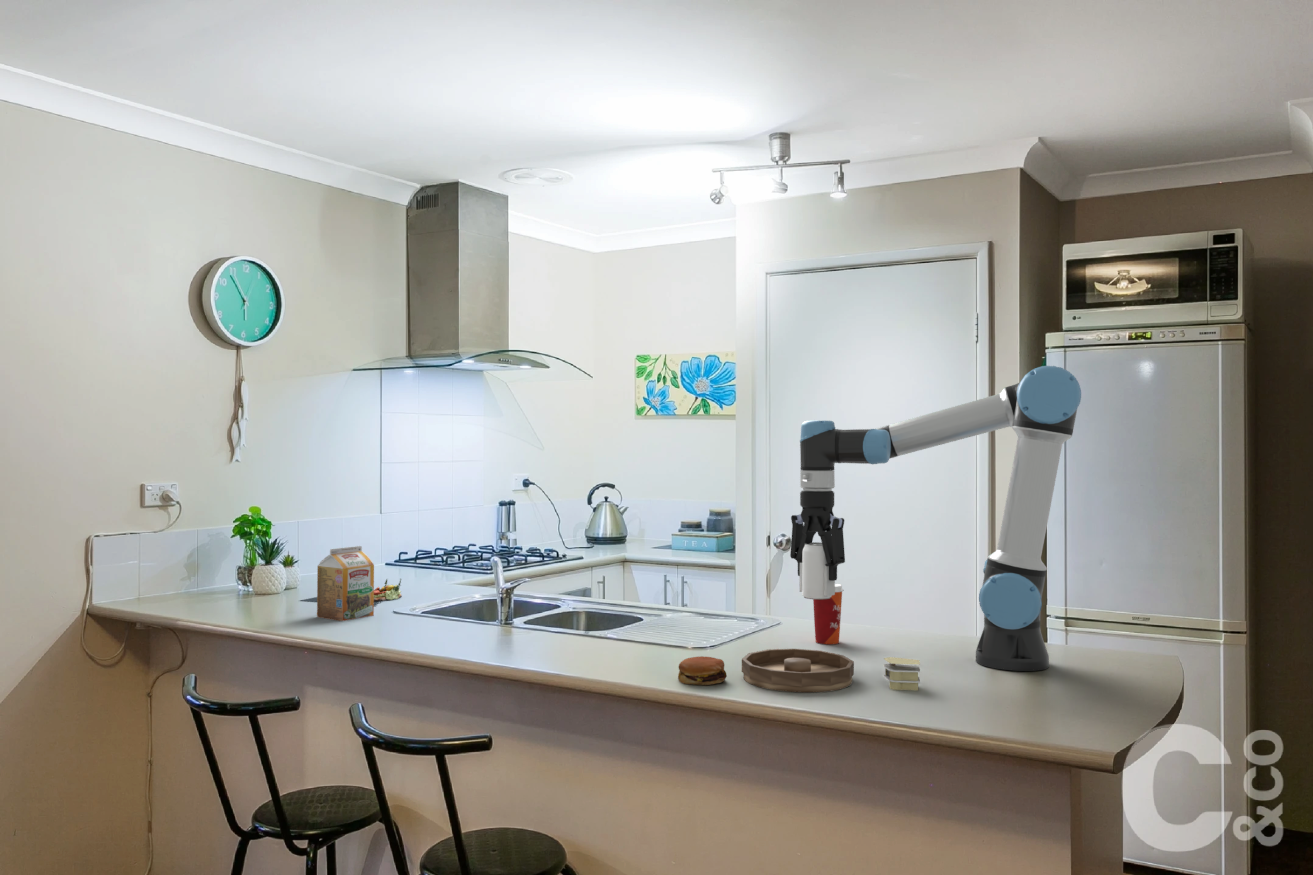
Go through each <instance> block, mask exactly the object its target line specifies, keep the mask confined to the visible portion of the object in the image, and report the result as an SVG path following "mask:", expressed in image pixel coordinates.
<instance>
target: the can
mask: <svg viewBox="0 0 1313 875" xmlns="http://www.w3.org/2000/svg"><path fill="white" fill-rule="evenodd" d="M804 544H805V546H804V548H803V551H802V592H801V594H802V595H801V596H802V597H803V598H804V599H808V600H813V599H815V600H823V599H830V597H831V596H832V595H831V596H824V566H826V565H825V564H827V561H826V557H825V553H824V549H823V545H822V542H820V541H819V542H818V541H817V542H813V541H812V542H811V543H810V544H806V543H804Z"/></svg>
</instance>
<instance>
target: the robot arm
mask: <svg viewBox="0 0 1313 875" xmlns="http://www.w3.org/2000/svg"><path fill="white" fill-rule="evenodd" d="M1081 400H1082V390H1081V385H1080V383H1079V380H1077V378H1076V376H1075V375H1073V374H1072V373H1071V372H1070V371H1069V370H1067V369H1065V368H1064V367H1060V366H1055V365H1042V366H1038V367H1036V368H1033V369H1031V370H1030V371H1028V372H1027V373H1026V374H1024V375H1023V377H1022V378H1021V380H1020V382H1017V383H1016V384H1013V385H1009V386H1005V387H1004V388H1003V389H1002V390H1001V392H999V393H997V394H994V395H989V396H987V397H983V398H979V399H976V400H973V401H972V400H971V401H969V402H966V403H963V404H962V403H961V404H958V405H955V406H951V407H947V408H945V409H940V410H937V411H934V412H933V411H932V412H930V413H927V414H923V415H920V416H916V417H912V418H908V419H906V420H902V421H898V422H895V423H890V424H888V425H884V426H880V427H876V428H865V429H863V428H862V429H861V428H859V429H854V428H853V429H839V428H836V426H835V422H834V421H832V420H805V421H803V422H802V423H801V428H800V439H799V443H800V444H799V446H800V447H799V448H800V449H799V451H800V454H799V455H800V477H799V478H800V479H799V480H800V482H799V483H800V484H799V485H800V488H802V490H801V491H800V492H799V494H800V495H799V496H800V498H799V505H800V507H802V509H801V512H800V514H794V515H793V514H792V515H791V516H790V520H791V525H792V528H791V542H790V555H789V556H790V558H791V559H794V560H796V562H797V576H798V577H799V592H800V593H802V551H803V548H804V546H805V544H804V543H806V544H810V543H811V542H813V540H814V538H815V537H814V536H815V535H816V534H818V536H819V537H820V541H821V542H820V543H822V545H823V549H824V553H825V557H826V561H827V564H825V565H826V566H824V596H831V595H835V583H836V581H837V579H838V566H839V565H841V564H844V563H846V556H845V542H844V541H845V540H844V525H845V518H843V517H836V516H835V514H834V511H833V508H834V507H835V491H833V489H835V487H836V486H835V481H836V480H835V464H863V465H864V464H865V465H867V464H869V465H878V464H886V463H888V462H889V461H890V459H894V458H897V457H899V456H900V457H901V456H903V455H908V454H912V453H915V452H919V451H922V450H926V449H930V448H933V447H937V446H942V445H945V444H949V443H953V442H956V441H960V440H964V439H967V438H973V437H975V436H980V435H982V434H987V433H990V432H995V431H997V430H998V431H999V430H1001V429H1005V428H1009V427H1010V428H1012V430H1013V431H1014V432H1015V434H1016V435H1017V441H1016V446H1015V451H1014V452H1015V453H1014V457H1013V462H1012V467H1011V472H1010V477H1009V478H1010V479H1009V484H1008V490H1007V495H1006V500H1005V506H1004V510H1003V516H1002V520H1001V521H1002V522H1001V526H1000V532H999V538H998V543H997V548H996V550H995V551H993V552H992V553H991V554H989V555H988V556H987V559H985V561H984V564H983V565H984V567H983V569H982V570H983V571H982V572H983V574H984V575H983V581H982V584H981V585H982V586H981V587H980V591H979V593H978V602H979V607H980V608H981V612H982V613H983V620H984V621H983V622H984V623H983V629H982V632H981V634H980V638H979V640H978V644H977V647H976V650H975V662H976V663H977V664H979V665H981V666H984V667H988V668H991V669H996V670H997V669H998V670H1004V671H1012V672H1013V671H1016V672H1035V671H1036V672H1037V671H1042V670H1046V669H1048V668H1049V667H1050V655H1049V653H1048V650H1047V647H1046V643H1045V641H1044V638H1043V635H1042V631H1041V611H1042V606H1043V605H1042V604H1043V603H1042V602H1043V601H1042V597H1043V592H1044V587H1045V581H1046V576H1047V572H1048V571H1047V570H1048V568H1047V566H1046V565H1045V563H1044V562H1043V561H1042V553H1043V549H1044V543H1045V538H1046V533H1047V528H1048V522H1049V516H1050V512H1051V508H1052V501H1053V495H1054V491H1055V485H1056V479H1057V474H1058V470H1059V463H1060V460H1061V458H1060V457H1061V453H1062V447H1063V444H1064V443H1065V442H1067V441H1068V440H1069V439H1071V438H1073V433H1074V427H1075V422H1076V417H1077V411H1078V408H1079V407H1080V404H1081Z"/></svg>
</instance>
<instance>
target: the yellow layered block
mask: <svg viewBox="0 0 1313 875" xmlns="http://www.w3.org/2000/svg"><path fill="white" fill-rule="evenodd" d="M883 660H884V661H885V662H887V663H886V664H883V665H882V666H883V668H884V669H885V672H884V673H885V674H883V676H882V677H884V679H886V680H887V681H888V682H889V689H890V690H894V691H901V690H906V691H919V683H921V678H920V676H919V673H921V669H920V666H919V665H921V662H920V660H919V659H912V658H911V659H910V658H904V657H895V656H894V657H893V656H892V657H891V656H890V657H884V658H883ZM916 665H918V666H916Z"/></svg>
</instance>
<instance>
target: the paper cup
mask: <svg viewBox="0 0 1313 875" xmlns="http://www.w3.org/2000/svg"><path fill="white" fill-rule="evenodd" d="M843 592H844V589H843V585H842V584H840V583H836V582H835V595H832V596H831V597H830V599H823V600H815V599H812V600H813V601H812V602H813V620H814V638H815V642H816V643H817V644H820V645H837V644H839V643H840V634H841V633H840V632H841V631H840V630H841V618H842V617H841V615H842V602H843V601H842V600H843V599H842V598H843Z"/></svg>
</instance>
